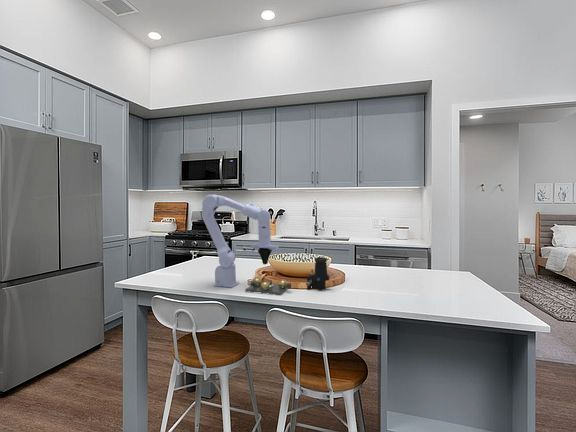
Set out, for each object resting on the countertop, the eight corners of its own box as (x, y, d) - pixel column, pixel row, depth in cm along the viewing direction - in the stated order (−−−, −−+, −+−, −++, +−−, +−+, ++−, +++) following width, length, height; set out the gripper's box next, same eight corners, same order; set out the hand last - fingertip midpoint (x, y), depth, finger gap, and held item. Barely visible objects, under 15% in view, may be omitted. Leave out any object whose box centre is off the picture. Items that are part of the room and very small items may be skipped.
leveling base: (245, 291, 147) (245, 287, 147) (256, 284, 157) (256, 280, 157) (280, 295, 141) (280, 291, 141) (289, 287, 151) (289, 283, 151)
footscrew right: (266, 290, 144) (266, 284, 143) (259, 289, 145) (259, 283, 145) (274, 285, 150) (274, 280, 150) (267, 284, 152) (267, 279, 151)
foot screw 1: (255, 282, 155) (254, 277, 155) (262, 283, 154) (261, 278, 154) (248, 287, 148) (248, 281, 148) (255, 287, 147) (255, 282, 147)
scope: (310, 256, 154) (331, 257, 150) (310, 284, 155) (331, 286, 151) (305, 259, 146) (327, 261, 142) (305, 290, 147) (327, 292, 144)
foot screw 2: (277, 286, 149) (277, 280, 148) (283, 284, 151) (283, 279, 151) (287, 290, 143) (287, 284, 143) (293, 288, 145) (293, 282, 145)
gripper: (247, 235, 156) (248, 264, 157) (272, 237, 148) (273, 267, 149) (256, 234, 162) (256, 261, 163) (280, 235, 154) (281, 264, 155)
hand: (265, 263), depth 157 cm, fingers closed
